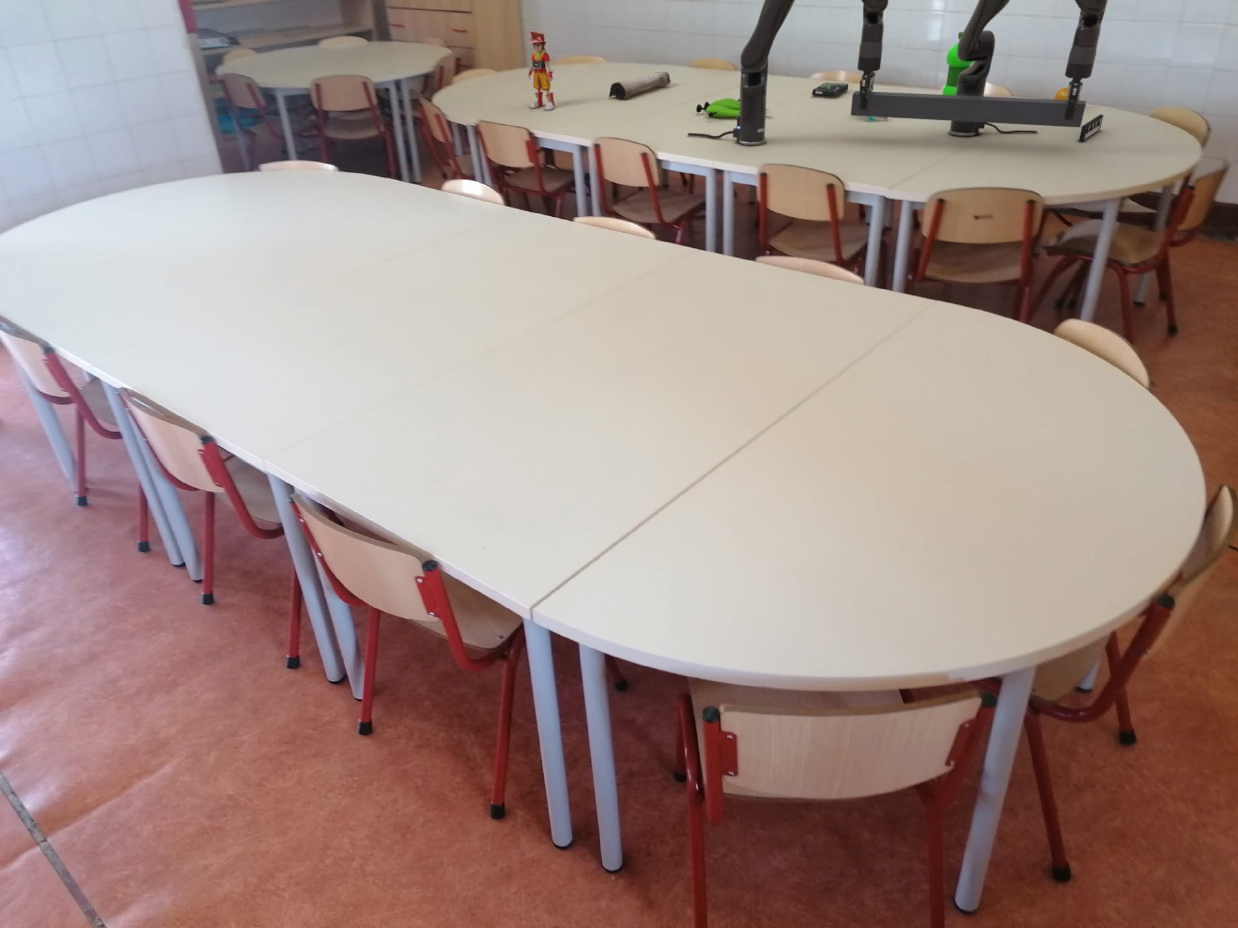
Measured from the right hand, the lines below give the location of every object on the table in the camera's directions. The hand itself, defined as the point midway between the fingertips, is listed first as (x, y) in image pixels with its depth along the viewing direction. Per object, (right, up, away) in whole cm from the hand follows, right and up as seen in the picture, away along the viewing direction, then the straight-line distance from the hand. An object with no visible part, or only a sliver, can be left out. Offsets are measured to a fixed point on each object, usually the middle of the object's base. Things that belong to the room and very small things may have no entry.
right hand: (1068, 117), depth 289 cm
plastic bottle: (-13, +31, +65) cm, 73 cm away
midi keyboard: (+17, +1, +19) cm, 25 cm away
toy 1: (-178, +40, +93) cm, 205 cm away
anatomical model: (-49, +21, +54) cm, 76 cm away
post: (-30, +4, +13) cm, 33 cm away
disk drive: (-57, +43, +87) cm, 113 cm away
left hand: (-60, +12, +23) cm, 65 cm away
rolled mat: (-136, +53, +107) cm, 181 cm away
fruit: (+23, +22, +49) cm, 59 cm away
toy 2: (-99, +27, +67) cm, 122 cm away
